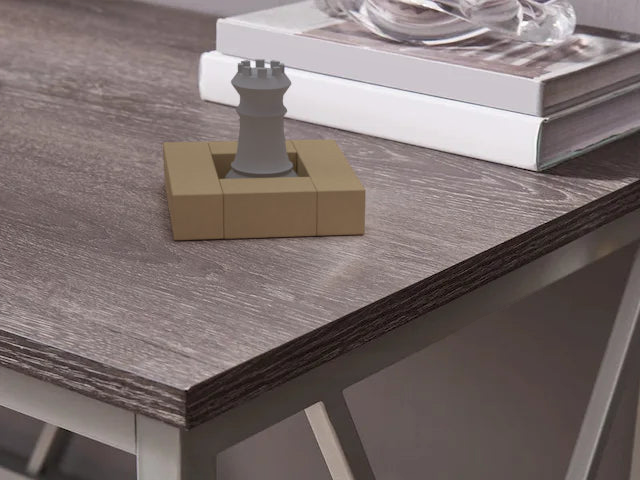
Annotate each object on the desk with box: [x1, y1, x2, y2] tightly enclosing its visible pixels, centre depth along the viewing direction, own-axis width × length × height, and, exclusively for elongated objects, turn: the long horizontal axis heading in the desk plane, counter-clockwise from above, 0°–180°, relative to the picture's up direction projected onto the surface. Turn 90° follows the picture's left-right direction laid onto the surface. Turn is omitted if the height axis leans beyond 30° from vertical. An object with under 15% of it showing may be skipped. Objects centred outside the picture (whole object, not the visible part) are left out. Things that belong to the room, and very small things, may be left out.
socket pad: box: [162, 138, 366, 241], centre depth 72 cm, size 10×10×2 cm
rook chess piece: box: [225, 58, 298, 179], centre depth 71 cm, size 4×4×8 cm
